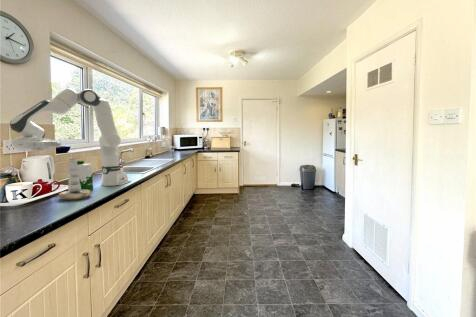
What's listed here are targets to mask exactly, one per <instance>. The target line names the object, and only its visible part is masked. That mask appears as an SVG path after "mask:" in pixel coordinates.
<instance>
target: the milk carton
mask: <svg viewBox="0 0 476 317" xmlns="http://www.w3.org/2000/svg"><path fill="white" fill-rule="evenodd" d="M76 163H77V164H78V165H79V167H80V169H79V170H80V171H79V180H80V185H81V189H85V190H90V191H92V190H94V182H93V163H85V160H77V162H76Z"/></svg>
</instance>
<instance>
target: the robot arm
mask: <svg viewBox="0 0 476 317" xmlns="http://www.w3.org/2000/svg"><path fill="white" fill-rule="evenodd" d="M77 104H78V105H81V106H83V107H87V108H88V107H91V108H92V109H93V110H94V114H95V119H96V123H97V124H96V125H97V128H99V131H100V134H101V135H100V136H99V138H98V142H99V147H100V152H101V161H102V162H101V163H102V166H101V172H102V173H101V182H100V186H104V187H109V186H111V187H112V186H122V185H125V184H128V183H130V182H132V180H131V179H128V178H129V177H128V174H127V173H126V172H124V171H123V170H121V169H123V168H124V166H123V165H119V163H120V162H119V154H118V150H117V147H118V146H120V144H121V143H122V142H121V137H120V135H119V132H118V130H117V127H116V125H115V121H114V120H115V119H114V117H113V115H114V114H113V111H112V108H111V105H110V102H109V101H108V100H107V99H105V98H101V97H100V96H99V95H98V94H97V92H95V91H94V90H93V89H89V88H85V89H83V90H81V91H80V92H78V91H76V90H75V89H73V88H69V87H67V88H65V89H63V90H62V91H61V92H59V93H58V94H57V95H56V96H55V97H53V98H51V99H49V100H48V99H44V100H41V101H39V102H38V103H36V104H35V105H33V106H31V107H30V108H28V109H26V111H24V112H22V113H21V114H18V115H16V116H15V117H13V118H11V120H10V121H9V126H10V130H12V131H14V132H16V133H19V134H20V135H21V136H18V137H15V138H13V139H12V141H11V145H12V147H13V148H14V149H16V150H18V151H24V152H41V151H43V150H50V149H53V148H60V147H62V141H60V140H58V139H57V140H56V139H51V138H45V136H46V132H45V129H44V128H42V127H41V126H39V125H37V124H36V123H34V122H33V121H31V120H32V119H33V118H35V117H36V116H37V115H39V114H40V113H42V112H49V113H52V114H56V115H65V114H67V113H68V112H69V111H70V110H72V108H73V107H74V106H75V105H77Z"/></svg>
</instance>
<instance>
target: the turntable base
mask: <svg viewBox="0 0 476 317" xmlns="http://www.w3.org/2000/svg"><path fill="white" fill-rule="evenodd" d="M87 198H88V196H86V197H82V198H76V199H62V200H63V201H66V202H73V201H80V200H85V199H87Z"/></svg>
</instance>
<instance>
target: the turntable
mask: <svg viewBox="0 0 476 317" xmlns="http://www.w3.org/2000/svg"><path fill="white" fill-rule="evenodd" d="M91 191H92V190H85V189H81V190H80V191H79V192H75V193H74V192H69V190H65V191H62V192H58V198H59V199H60V200H61V199H62V200H63V199H76V198H82V197H86V196H87V197H88V196H91V195H92V193H91Z"/></svg>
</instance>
